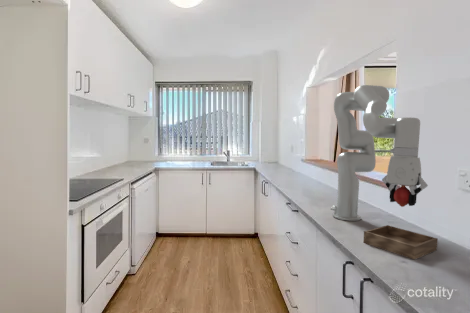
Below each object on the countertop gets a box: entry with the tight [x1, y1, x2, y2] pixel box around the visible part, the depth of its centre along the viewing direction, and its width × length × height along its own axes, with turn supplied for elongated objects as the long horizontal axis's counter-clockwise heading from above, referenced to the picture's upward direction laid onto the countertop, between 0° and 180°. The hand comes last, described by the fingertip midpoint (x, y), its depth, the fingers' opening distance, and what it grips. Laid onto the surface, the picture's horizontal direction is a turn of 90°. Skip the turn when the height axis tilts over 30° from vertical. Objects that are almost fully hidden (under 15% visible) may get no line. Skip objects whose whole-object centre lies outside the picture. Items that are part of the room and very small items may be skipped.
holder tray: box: [362, 224, 439, 260], centre depth 111 cm, size 18×16×4 cm
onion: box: [394, 185, 411, 208], centre depth 109 cm, size 6×6×8 cm
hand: (402, 203), depth 110 cm, fingers closed on onion, 5 cm apart
